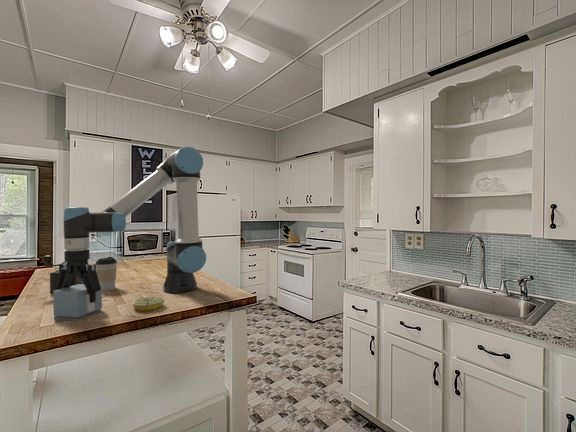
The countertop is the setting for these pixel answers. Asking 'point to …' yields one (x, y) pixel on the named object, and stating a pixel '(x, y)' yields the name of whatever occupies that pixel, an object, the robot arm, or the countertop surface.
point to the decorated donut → (148, 304)
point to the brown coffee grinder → (54, 275)
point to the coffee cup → (106, 272)
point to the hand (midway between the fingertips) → (78, 310)
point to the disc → (76, 318)
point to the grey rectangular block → (73, 301)
